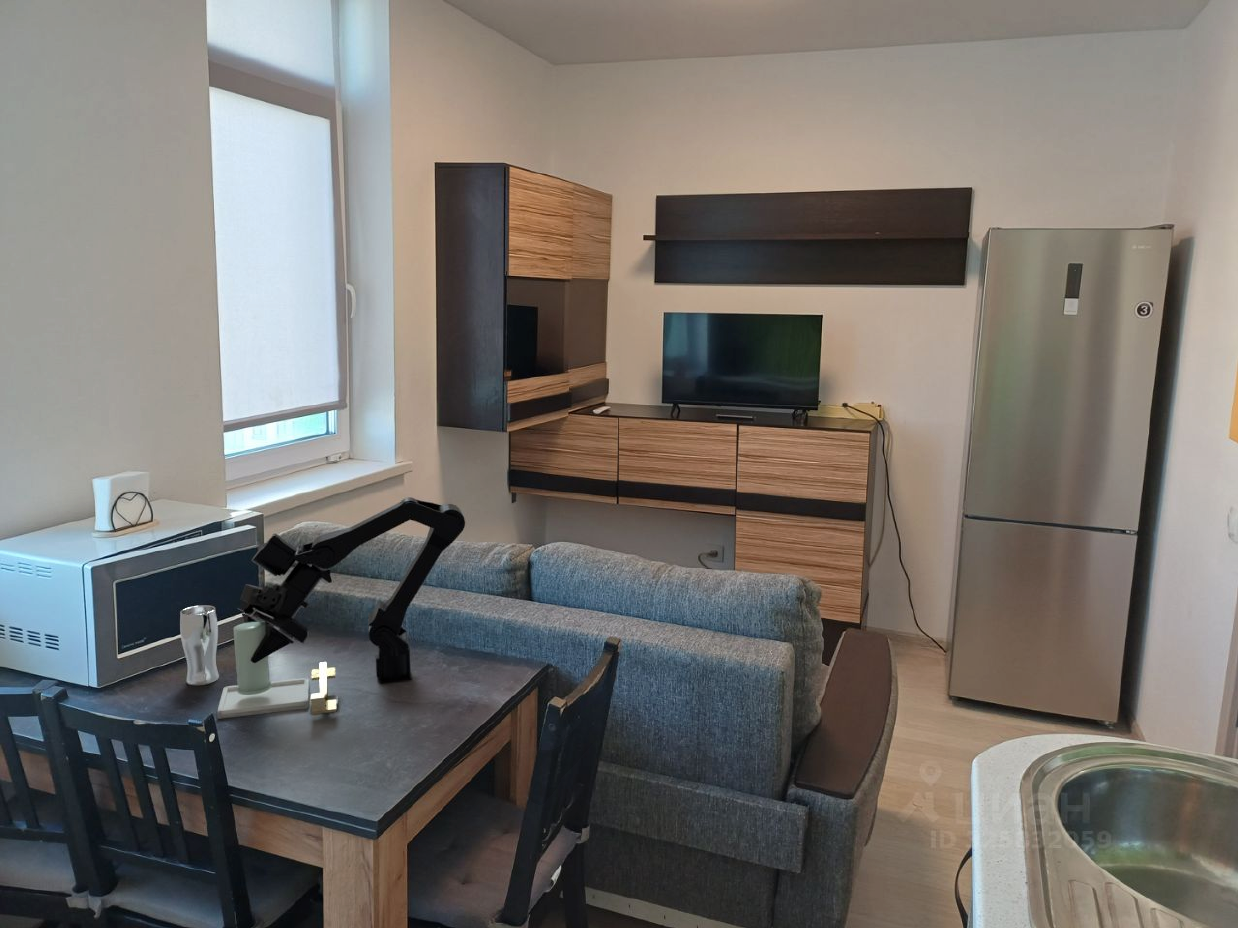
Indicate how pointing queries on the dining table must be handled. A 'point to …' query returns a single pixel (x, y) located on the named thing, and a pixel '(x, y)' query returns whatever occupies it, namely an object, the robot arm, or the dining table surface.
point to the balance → (323, 691)
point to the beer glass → (200, 643)
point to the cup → (248, 673)
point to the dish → (265, 699)
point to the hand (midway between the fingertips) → (245, 657)
